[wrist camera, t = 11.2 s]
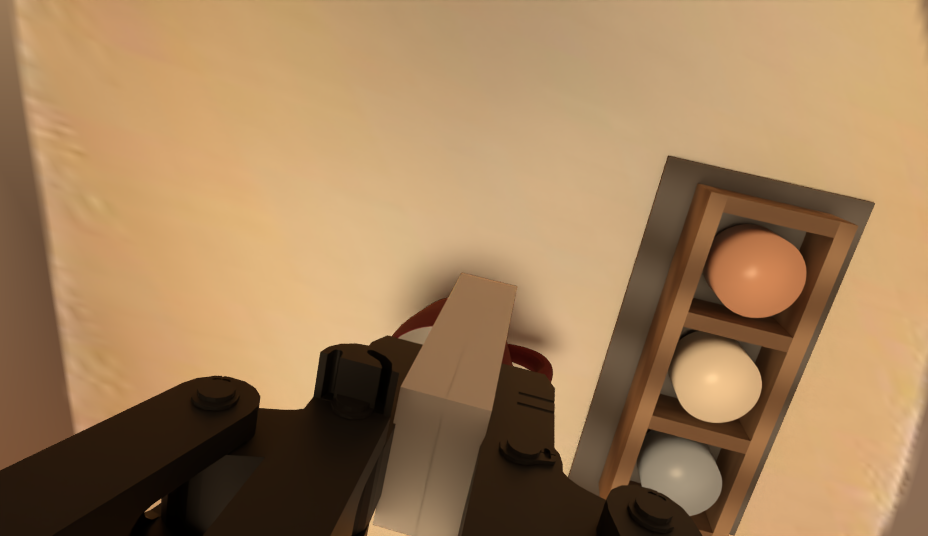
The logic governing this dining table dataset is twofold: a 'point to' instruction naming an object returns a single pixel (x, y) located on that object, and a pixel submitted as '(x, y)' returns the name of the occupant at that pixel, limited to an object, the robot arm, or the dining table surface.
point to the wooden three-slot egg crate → (712, 327)
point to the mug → (530, 359)
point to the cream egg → (714, 377)
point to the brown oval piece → (754, 271)
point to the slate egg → (680, 470)
